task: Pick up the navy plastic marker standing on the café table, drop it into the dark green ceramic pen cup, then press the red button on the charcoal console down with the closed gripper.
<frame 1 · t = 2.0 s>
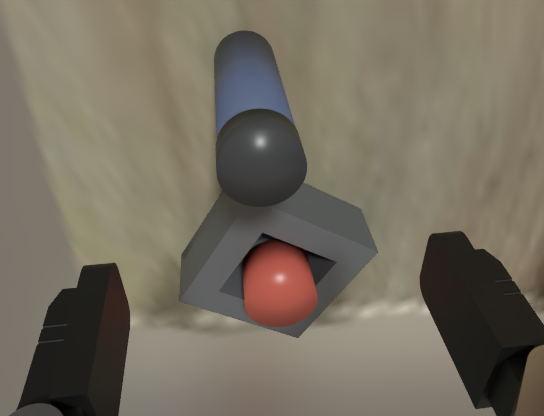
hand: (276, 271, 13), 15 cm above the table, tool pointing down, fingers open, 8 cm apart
button console: (270, 232, 32), on the table
done button: (278, 283, 28), point 5 cm above the table, slide at 0.0 cm
marker: (244, 60, 25), on the table
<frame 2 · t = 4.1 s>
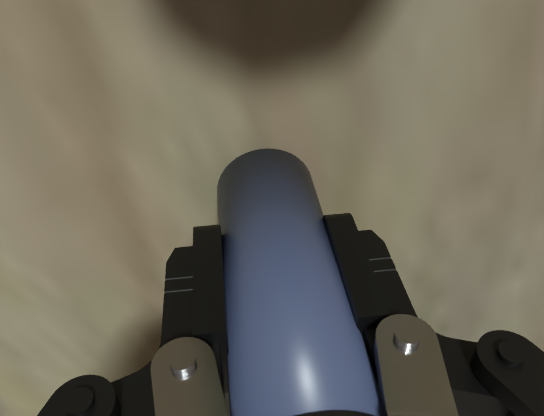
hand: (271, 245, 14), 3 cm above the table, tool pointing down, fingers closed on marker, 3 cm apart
marker: (265, 189, 16), on the table, touching gripper
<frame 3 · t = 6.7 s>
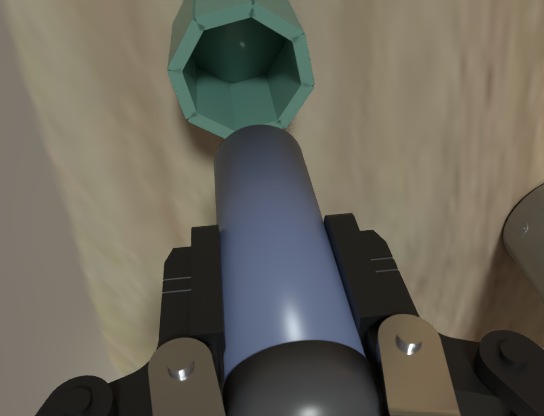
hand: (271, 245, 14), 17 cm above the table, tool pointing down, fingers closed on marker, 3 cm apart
marker: (258, 164, 17), point 13 cm above the table, touching gripper
pen cup: (235, 33, 27), on the table
when the fingers open (7 cm above the table, at t = 9.3 s): marker drops 2 cm, resting on pen cup.
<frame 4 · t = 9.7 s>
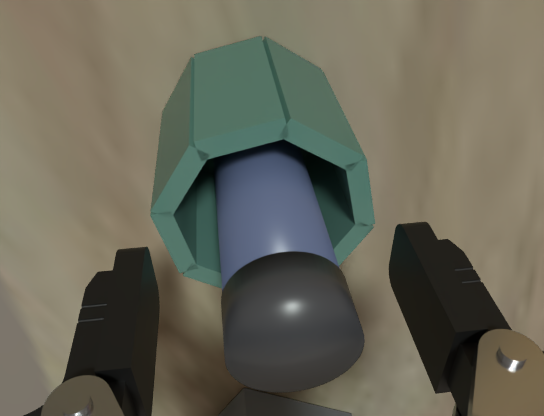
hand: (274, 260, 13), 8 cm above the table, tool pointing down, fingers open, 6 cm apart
marker: (251, 128, 19), point 1 cm above the table, touching pen cup
pen cup: (250, 121, 19), on the table
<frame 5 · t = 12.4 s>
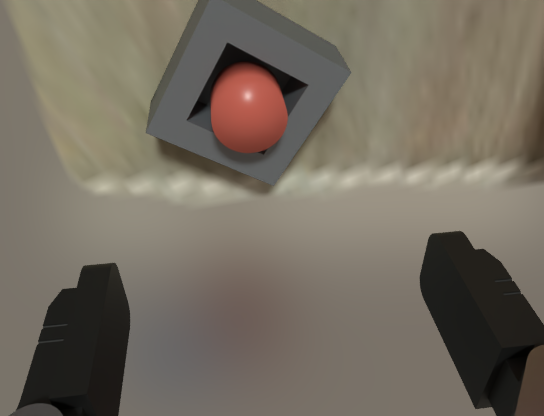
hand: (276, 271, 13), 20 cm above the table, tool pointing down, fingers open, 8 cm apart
button console: (242, 74, 31), on the table
done button: (247, 107, 27), point 4 cm above the table, slide at 0.0 cm
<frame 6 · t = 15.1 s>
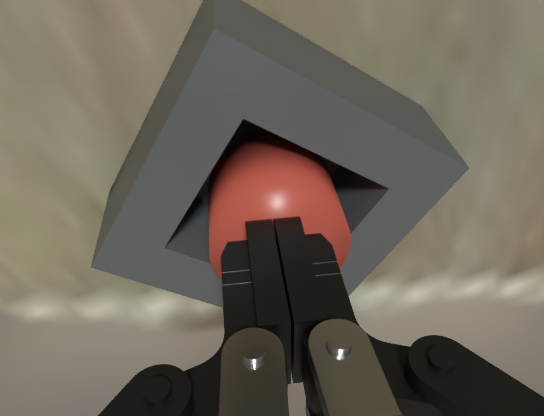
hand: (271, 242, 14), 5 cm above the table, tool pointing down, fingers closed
button console: (262, 150, 18), on the table
done button: (274, 216, 15), point 4 cm above the table, slide at 0.6 cm, touching gripper
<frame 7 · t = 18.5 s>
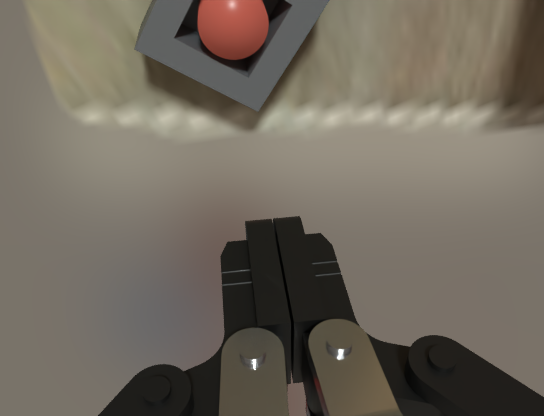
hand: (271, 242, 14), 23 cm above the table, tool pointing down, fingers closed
button console: (229, 1, 32), on the table
done button: (232, 17, 29), point 3 cm above the table, slide at 1.4 cm
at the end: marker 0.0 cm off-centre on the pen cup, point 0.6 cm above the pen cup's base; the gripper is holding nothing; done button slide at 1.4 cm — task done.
